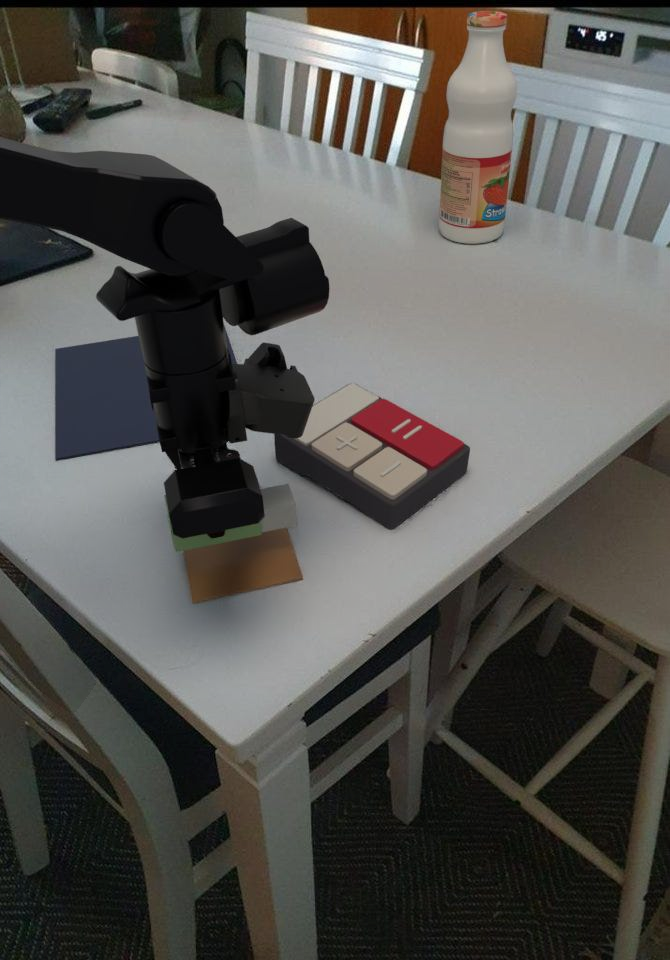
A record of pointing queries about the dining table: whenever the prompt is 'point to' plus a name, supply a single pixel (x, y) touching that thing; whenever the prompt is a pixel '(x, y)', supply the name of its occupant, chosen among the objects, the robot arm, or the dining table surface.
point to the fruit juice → (478, 136)
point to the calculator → (374, 454)
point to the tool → (276, 517)
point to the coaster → (241, 565)
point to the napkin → (103, 398)
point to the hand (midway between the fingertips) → (214, 522)
